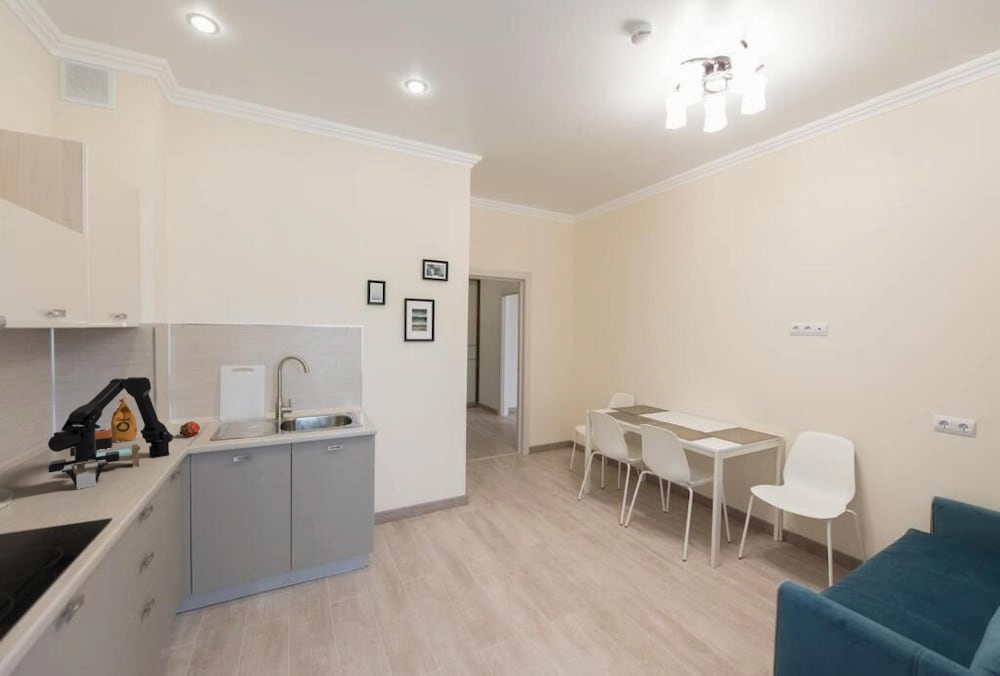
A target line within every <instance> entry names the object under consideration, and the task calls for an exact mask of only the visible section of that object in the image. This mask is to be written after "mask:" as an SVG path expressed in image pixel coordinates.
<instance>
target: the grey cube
mask: <svg viewBox="0 0 1000 676" xmlns="http://www.w3.org/2000/svg"><path fill="white" fill-rule="evenodd" d="M96 473H97V469H92V470H91V469H90V470H87V471H86V470H85V472H79V473H77V472H76V480H77V485H76V490H77V489H79V490H81V489H80V488H84V489H86V488H85V487H89V488H92V487H91V486H95V487H96V486H97V482H96Z"/></svg>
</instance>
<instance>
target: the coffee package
mask: <svg viewBox="0 0 1000 676" xmlns="http://www.w3.org/2000/svg"><path fill="white" fill-rule="evenodd" d="M123 397H124V398H123V399H121V400H120V399H118V403H119V402H122V403H121V404H120V406H119V408H117V410H116V411H115V412H114V414H113V413H112V414H113V416H111V422H110V429H112V440H113V442H115V443H118V442H117V441H124V442H129V441H128V440H130V441H134V440H133V439H136V437H137V436H138V428H137V427H138V426H137V420H136V416H135V417H134V415H135V414H134V415H133V414H132V412H131V410H130V409H129V407H128V406H127V404H126V403H125V399H126V400H127V398H126V397H125V396H123ZM136 435H137V436H136Z"/></svg>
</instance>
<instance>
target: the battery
mask: <svg viewBox="0 0 1000 676" xmlns="http://www.w3.org/2000/svg"><path fill="white" fill-rule="evenodd" d="M95 440H96V450H99V449H107V448H111V449H112V447H113V436H112V429H111V428H109V427H106V428H104V429H101V428H97V429H95Z"/></svg>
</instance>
